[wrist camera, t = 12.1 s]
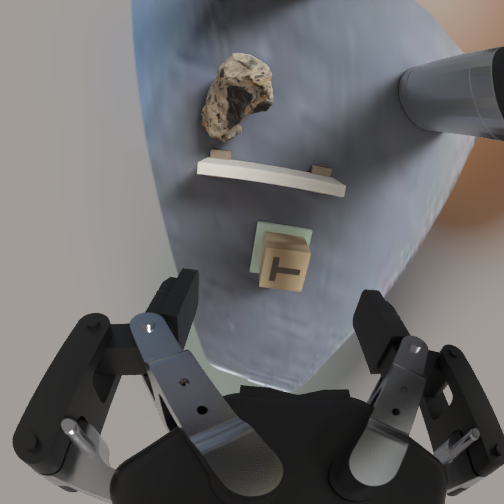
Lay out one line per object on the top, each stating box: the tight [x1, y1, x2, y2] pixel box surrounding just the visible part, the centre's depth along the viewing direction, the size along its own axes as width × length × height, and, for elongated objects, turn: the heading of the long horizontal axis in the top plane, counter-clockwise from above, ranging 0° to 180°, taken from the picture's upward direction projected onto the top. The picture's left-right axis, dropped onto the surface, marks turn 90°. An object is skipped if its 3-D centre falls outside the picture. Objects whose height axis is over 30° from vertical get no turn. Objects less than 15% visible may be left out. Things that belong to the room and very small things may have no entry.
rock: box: [201, 53, 273, 143], centre depth 25 cm, size 9×7×10 cm
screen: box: [197, 149, 346, 197], centre depth 29 cm, size 15×3×6 cm, turn 81°
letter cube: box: [259, 231, 311, 292], centre depth 33 cm, size 5×5×5 cm
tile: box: [250, 221, 313, 273], centre depth 35 cm, size 7×7×1 cm
